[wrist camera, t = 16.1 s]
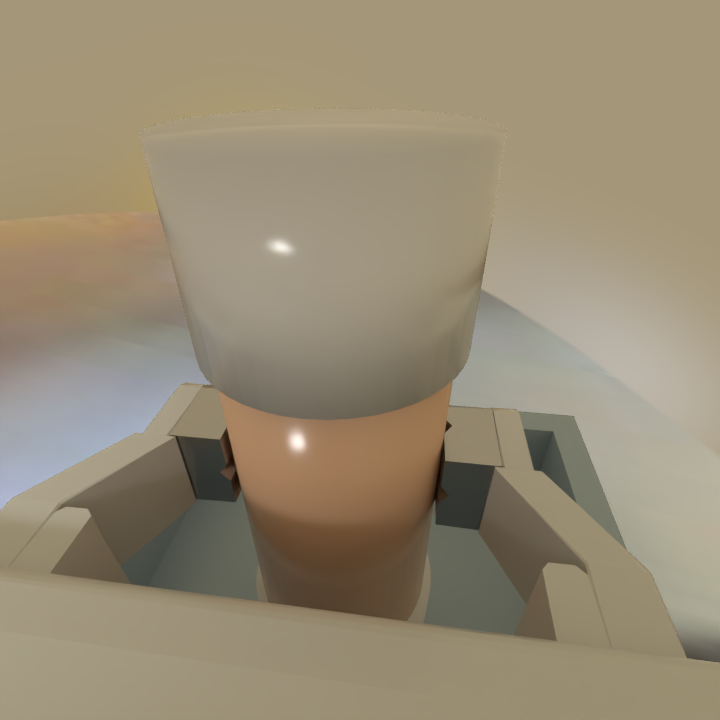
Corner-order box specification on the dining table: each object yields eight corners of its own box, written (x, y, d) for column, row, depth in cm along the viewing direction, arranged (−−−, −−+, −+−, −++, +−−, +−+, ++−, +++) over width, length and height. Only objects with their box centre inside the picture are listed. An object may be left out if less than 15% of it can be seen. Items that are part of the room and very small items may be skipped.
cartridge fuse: (422, 562, 14) (485, 110, 7) (420, 728, 11) (544, 163, 4) (292, 546, 15) (225, 107, 8) (248, 701, 11) (43, 151, 4)
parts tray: (548, 481, 20) (573, 415, 18) (774, 1290, 7) (978, 1440, 5) (210, 448, 22) (193, 384, 19) (-120, 1049, 9) (-296, 1072, 6)
